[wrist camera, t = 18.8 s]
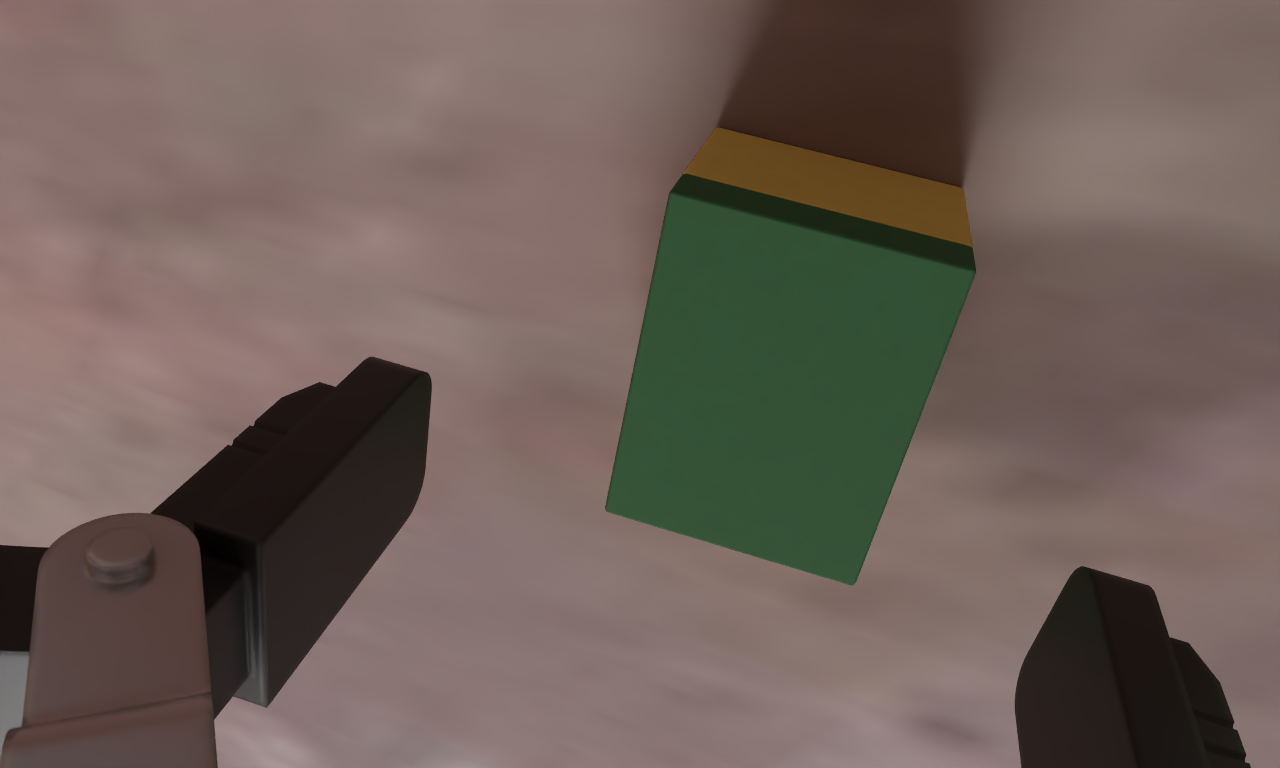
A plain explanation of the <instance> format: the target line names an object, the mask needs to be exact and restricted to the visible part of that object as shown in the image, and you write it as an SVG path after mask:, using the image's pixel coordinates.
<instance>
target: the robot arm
mask: <svg viewBox="0 0 1280 768" xmlns="http://www.w3.org/2000/svg"><path fill="white" fill-rule="evenodd" d="M431 392H432V383H431V378H430V375H429V374H428V373H427V372H424V371H420V370H417V369H413V368H410V367H406V366H403V365H400V364H396V363H393V362H389V361H386V360H382V359H379V358H376V357H369V358H367V359H365V360H364V361H363V362H362V363H361V364H360V365H359V366H358V367H356V368H355V369H354V370H353V371H352V372H351V373H350V374H349V375H348V376H347V377H346V378H345V379H344V380H343V381H342V382H341V383H340V384H339V385H337V386H336V387H334V386H331V385H327V384H324V383H321V382H319V383H316V384H314V385H311V386H309V387H307V388H304V389H302V390H299V391H297V392H294V393H292V394H289V395H287V396H285V397H282V398H281V399H279V400H278V401H277V402H276V403H275V404H274V405H273V406H272V407H270V408H269V409H268V410H267V411H266V412H265V413H264V414H262V415H261V416H260V417H259V418H258V419H257V420H256V421H255V424H254V426H249V427H248V428H247V429H245V430H244V431H243V432H242V433H241V434H240V435H239V436H238V437H236V438H235V439H234V440H233V444H232V446H230V445H227V446H226V447H225V448H224V449H223V450H222V451H220V452H219V453H218V454H217V455H216V456H215V457H214V458H213V459H211V460H210V461H209V462H208V463H207V464H206V465H205V466H203V467H202V468H201V469H200V470H199V471H198V472H197V473H196V474H194V475H193V476H192V477H191V478H190V479H189V480H188V481H186V482H185V483H184V484H183V485H182V486H181V487H180V488H179V489H177V490H176V491H175V492H174V493H173V494H172V495H171V496H169V497H168V498H167V499H166V500H165V501H164V502H163V503H162V504H160V505H159V506H158V507H157V508H156V509H155V510H154V511H152V512H151V513H150V514H148V513H126V514H117V515H111V516H106V517H102V518H99V519H95V520H92V521H90V522H87V523H84V524H82V525H80V526H78V527H76V528H74V529H72V530H70V531H68V532H67V533H65V534H64V535H62V536H61V537H60V538H58V539H57V540H56V541H55V542H54V543H53V544H52V545H51V546H50V547H49V548H42V547H23V546H7V545H0V768H218V766H217V753H216V740H215V728H214V719H215V718H216V717H217V715H218V714H219V713H220V712H221V710H222V709H223V708H224V707H225V705H226V704H227V703H228V702H229V700H230V699H231V698H232V697H233V696H234V697H237V698H240V699H243V700H246V701H248V702H251V703H254V704H257V705H260V706H263V707H266V708H267V707H268V706H269V704H270V703H271V702H272V700H273V699H274V698H275V696H276V695H277V694H278V692H279V691H280V689H281V688H282V687H283V685H284V684H285V683H286V681H287V680H288V679H289V677H290V676H291V675H292V673H293V672H294V671H295V669H296V668H297V667H298V665H299V664H300V663H301V661H302V660H303V659H304V657H305V656H306V655H307V653H308V652H309V651H310V649H311V648H312V647H313V645H314V644H315V643H316V641H317V640H318V639H319V637H320V636H321V635H322V633H323V632H324V630H325V629H326V628H327V626H328V625H329V624H330V622H331V621H332V620H333V618H334V617H335V616H336V614H337V613H338V612H339V610H340V609H341V608H342V606H343V605H344V604H345V602H346V601H347V600H348V598H349V597H350V596H351V594H352V593H353V592H354V590H355V589H356V588H357V586H358V585H359V584H360V582H361V581H362V580H363V578H364V577H365V576H366V574H367V573H368V571H369V570H370V569H371V567H372V566H373V565H374V563H375V562H376V561H377V559H378V558H379V557H380V555H381V554H382V553H383V551H384V550H385V549H386V547H387V546H388V545H389V543H390V542H391V541H392V539H393V538H394V537H395V535H396V534H397V533H398V531H399V530H400V529H401V527H402V526H403V525H404V523H405V522H406V521H407V519H408V518H409V516H410V514H411V513H412V511H413V509H414V507H415V505H416V502H417V500H418V497H419V494H420V491H421V488H422V484H423V480H424V475H425V467H426V454H427V442H428V429H429V417H430V405H431ZM1015 715H1016V724H1017V733H1018V741H1019V750H1020V758H1021V767H1022V768H1251V767H1250V764H1249V763H1246V762H1245V757H1246V753H1245V750H1244V747H1243V745H1242V742H1241V739H1240V736H1239V734H1238V731H1237V730H1235V729H1233V724H1234V720H1233V717H1232V714H1231V712H1230V709H1229V706H1228V703H1227V701H1226V698H1225V695H1224V692H1223V690H1222V687H1221V684H1220V682H1219V681H1218V680H1217V678H1216V677H1215V676H1214V675H1213V673H1212V672H1211V671H1210V669H1209V668H1208V667H1207V666H1206V664H1205V663H1204V662H1203V661H1202V659H1201V658H1200V657H1199V656H1198V654H1197V653H1196V652H1195V650H1194V649H1193V648H1192V647H1191V645H1190V644H1189V643H1187V642H1184V641H1180V640H1177V639H1174V638H1170V637H1169V635H1168V631H1167V628H1166V625H1165V622H1164V619H1163V616H1162V613H1161V610H1160V607H1159V603H1158V600H1157V597H1156V595H1155V592H1154V590H1153V589H1152V588H1151V587H1150V586H1149V585H1145V584H1142V583H1139V582H1135V581H1132V580H1128V579H1125V578H1122V577H1118V576H1115V575H1111V574H1108V573H1104V572H1101V571H1098V570H1094V569H1091V568H1087V567H1084V566H1082V567H1079V568H1077V569H1076V570H1075V571H1074V572H1073V573H1072V574H1071V576H1070V577H1069V579H1068V581H1067V582H1066V584H1065V586H1064V588H1063V590H1062V591H1061V593H1060V595H1059V597H1058V599H1057V601H1056V602H1055V604H1054V606H1053V608H1052V610H1051V611H1050V613H1049V615H1048V617H1047V619H1046V621H1045V622H1044V624H1043V626H1042V628H1041V630H1040V631H1039V633H1038V635H1037V637H1036V639H1035V641H1034V642H1033V644H1032V646H1031V648H1030V650H1029V652H1028V653H1027V655H1026V657H1025V659H1024V662H1023V664H1022V667H1021V670H1020V673H1019V677H1018V681H1017V686H1016V693H1015Z"/></svg>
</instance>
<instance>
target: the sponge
mask: <svg viewBox="0 0 1280 768" xmlns="http://www.w3.org/2000/svg"><path fill="white" fill-rule="evenodd" d="M975 274H976V267H975V261H974V255H973V248H972V240H971V234H970V228H969V222H968V215H967V209H966V203H965V197H964V191H963V189H962V188H961V187H957V186H953V185H948V184H944V183H940V182H936V181H932V180H928V179H924V178H920V177H916V176H912V175H908V174H904V173H900V172H896V171H892V170H888V169H884V168H880V167H876V166H872V165H868V164H864V163H860V162H856V161H852V160H848V159H844V158H840V157H836V156H832V155H828V154H824V153H820V152H816V151H812V150H808V149H804V148H799V147H795V146H791V145H787V144H783V143H779V142H775V141H771V140H767V139H763V138H759V137H755V136H751V135H747V134H743V133H739V132H735V131H731V130H727V129H723V128H719V127H717V128H716V129H715V130H714V131H713V133H712V134H711V135H710V137H709V138H708V140H707V141H706V142H705V144H704V145H703V147H702V148H701V149H700V151H699V152H698V153H697V155H696V156H695V158H694V159H693V160H692V162H691V163H690V165H689V166H688V167H687V169H686V170H685V171H684V173H683V175H682V176H681V177H680V179H679V180H678V182H677V183H676V184H675V186H674V187H673V189H672V190H671V191H670V193H669V197H668V202H667V206H666V211H665V216H664V221H663V226H662V231H661V236H660V241H659V246H658V251H657V256H656V260H655V265H654V270H653V275H652V280H651V285H650V290H649V295H648V300H647V305H646V310H645V315H644V319H643V324H642V329H641V334H640V339H639V344H638V349H637V354H636V359H635V364H634V369H633V373H632V378H631V383H630V388H629V393H628V398H627V403H626V408H625V413H624V418H623V423H622V427H621V432H620V437H619V442H618V447H617V452H616V457H615V462H614V467H613V472H612V477H611V481H610V486H609V491H608V496H607V501H606V506H605V509H606V511H607V512H609V513H612V514H616V515H619V516H622V517H626V518H629V519H632V520H636V521H639V522H642V523H646V524H649V525H652V526H656V527H659V528H662V529H666V530H669V531H672V532H676V533H679V534H682V535H686V536H689V537H692V538H695V539H699V540H702V541H705V542H709V543H712V544H715V545H719V546H722V547H725V548H729V549H732V550H735V551H739V552H742V553H745V554H749V555H752V556H755V557H759V558H762V559H765V560H769V561H772V562H775V563H779V564H782V565H785V566H789V567H792V568H795V569H798V570H802V571H805V572H808V573H812V574H815V575H818V576H822V577H825V578H828V579H832V580H835V581H838V582H842V583H845V584H848V585H854V584H855V583H856V581H857V578H858V576H859V573H860V570H861V568H862V565H863V563H864V560H865V557H866V555H867V552H868V550H869V547H870V545H871V542H872V539H873V537H874V534H875V532H876V529H877V526H878V524H879V521H880V519H881V516H882V514H883V511H884V508H885V506H886V503H887V501H888V498H889V496H890V493H891V490H892V488H893V485H894V483H895V480H896V477H897V475H898V472H899V470H900V467H901V465H902V462H903V459H904V457H905V454H906V452H907V449H908V447H909V444H910V441H911V439H912V436H913V434H914V431H915V428H916V426H917V423H918V421H919V418H920V416H921V413H922V410H923V408H924V405H925V403H926V400H927V398H928V395H929V392H930V390H931V387H932V385H933V382H934V379H935V377H936V374H937V372H938V369H939V367H940V364H941V361H942V359H943V356H944V354H945V351H946V349H947V346H948V343H949V341H950V338H951V336H952V333H953V330H954V328H955V325H956V323H957V320H958V318H959V315H960V312H961V310H962V307H963V305H964V302H965V300H966V297H967V294H968V292H969V289H970V287H971V284H972V281H973V279H974V276H975Z"/></svg>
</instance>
